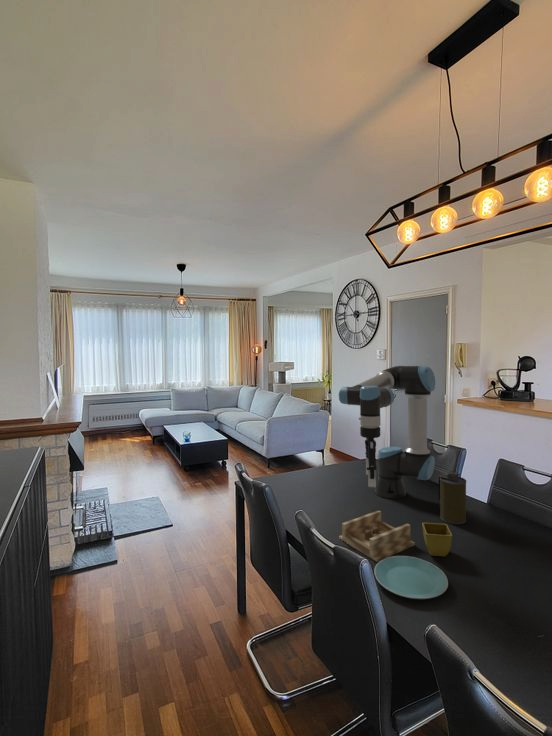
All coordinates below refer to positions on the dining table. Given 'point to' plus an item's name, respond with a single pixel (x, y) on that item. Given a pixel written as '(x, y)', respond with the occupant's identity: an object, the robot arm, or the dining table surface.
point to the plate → (411, 577)
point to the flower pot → (437, 538)
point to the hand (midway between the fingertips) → (370, 480)
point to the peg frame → (376, 536)
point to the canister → (452, 498)
